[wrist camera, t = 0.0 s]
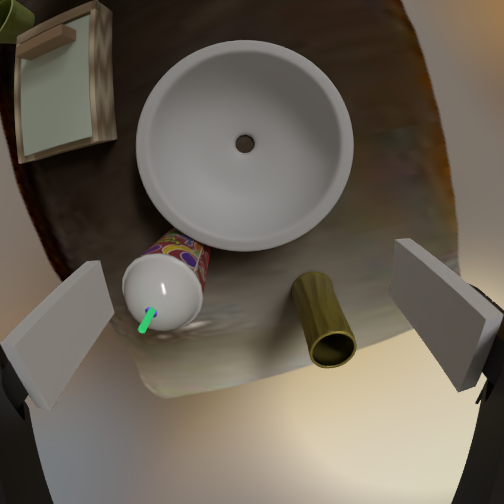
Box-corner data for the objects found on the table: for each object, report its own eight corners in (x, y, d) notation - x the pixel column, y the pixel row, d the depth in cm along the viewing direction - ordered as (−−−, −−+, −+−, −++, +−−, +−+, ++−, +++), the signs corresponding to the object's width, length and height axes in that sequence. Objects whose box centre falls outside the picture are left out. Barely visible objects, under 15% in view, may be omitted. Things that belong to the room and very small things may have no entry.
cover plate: (27, 46, 27) (7, 41, 23) (93, 17, 27) (76, 6, 22) (29, 155, 33) (8, 159, 29) (96, 135, 33) (77, 136, 28)
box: (37, 42, 30) (17, 36, 25) (112, 12, 30) (96, -1, 25) (41, 159, 37) (18, 163, 32) (117, 139, 37) (98, 140, 32)
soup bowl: (204, 262, 43) (196, 283, 37) (124, 109, 35) (103, 106, 29) (364, 191, 39) (383, 201, 33) (289, 29, 32) (296, 11, 26)
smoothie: (187, 204, 40) (133, 263, 21) (230, 249, 42) (213, 337, 24) (147, 244, 42) (80, 321, 23) (188, 285, 44) (150, 381, 25)
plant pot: (45, -5, 27) (16, -20, 19) (41, 38, 30) (9, 28, 22) (7, 18, 27) (-23, 10, 19) (3, 61, 30) (-30, 56, 22)
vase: (335, 301, 45) (363, 362, 32) (297, 312, 46) (311, 377, 32) (327, 265, 43) (357, 320, 30) (286, 278, 44) (299, 338, 30)
